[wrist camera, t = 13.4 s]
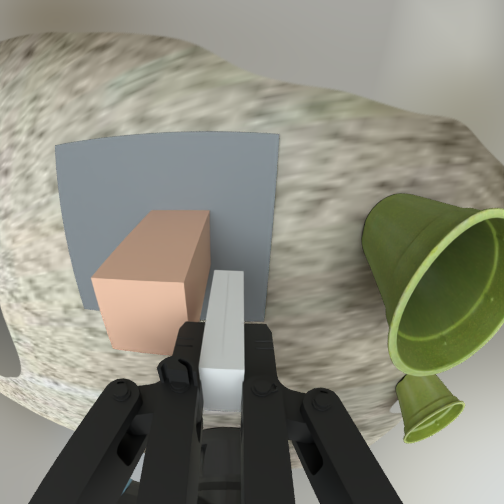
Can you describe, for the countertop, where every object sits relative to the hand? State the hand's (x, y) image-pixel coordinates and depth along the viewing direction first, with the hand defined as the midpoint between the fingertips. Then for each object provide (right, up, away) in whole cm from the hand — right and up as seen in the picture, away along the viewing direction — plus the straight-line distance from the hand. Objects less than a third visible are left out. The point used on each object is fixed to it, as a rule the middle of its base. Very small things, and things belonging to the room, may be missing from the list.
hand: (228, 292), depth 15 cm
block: (-4, +3, +6) cm, 8 cm away
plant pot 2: (+25, -16, +18) cm, 34 cm away
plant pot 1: (+14, +4, +8) cm, 16 cm away
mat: (-6, +4, +7) cm, 10 cm away
